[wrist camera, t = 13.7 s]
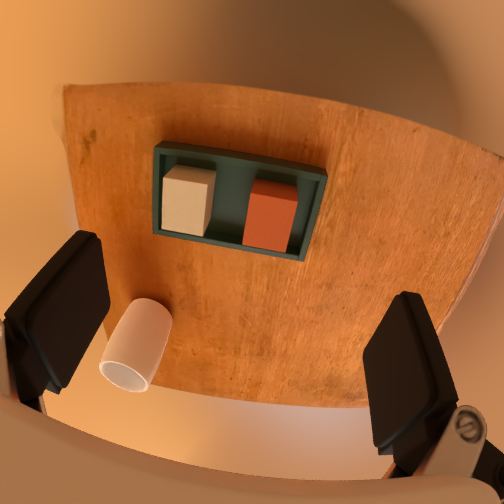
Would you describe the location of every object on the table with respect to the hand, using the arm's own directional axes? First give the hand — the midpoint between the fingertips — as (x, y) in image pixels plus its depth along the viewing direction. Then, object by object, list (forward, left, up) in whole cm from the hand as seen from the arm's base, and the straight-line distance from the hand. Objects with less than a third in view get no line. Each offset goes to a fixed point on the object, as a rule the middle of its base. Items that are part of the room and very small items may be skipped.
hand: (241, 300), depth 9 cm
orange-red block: (+6, +8, -28) cm, 29 cm away
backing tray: (+9, +5, -28) cm, 30 cm away
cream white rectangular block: (+13, +2, -28) cm, 31 cm away
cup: (+33, +14, -28) cm, 46 cm away
